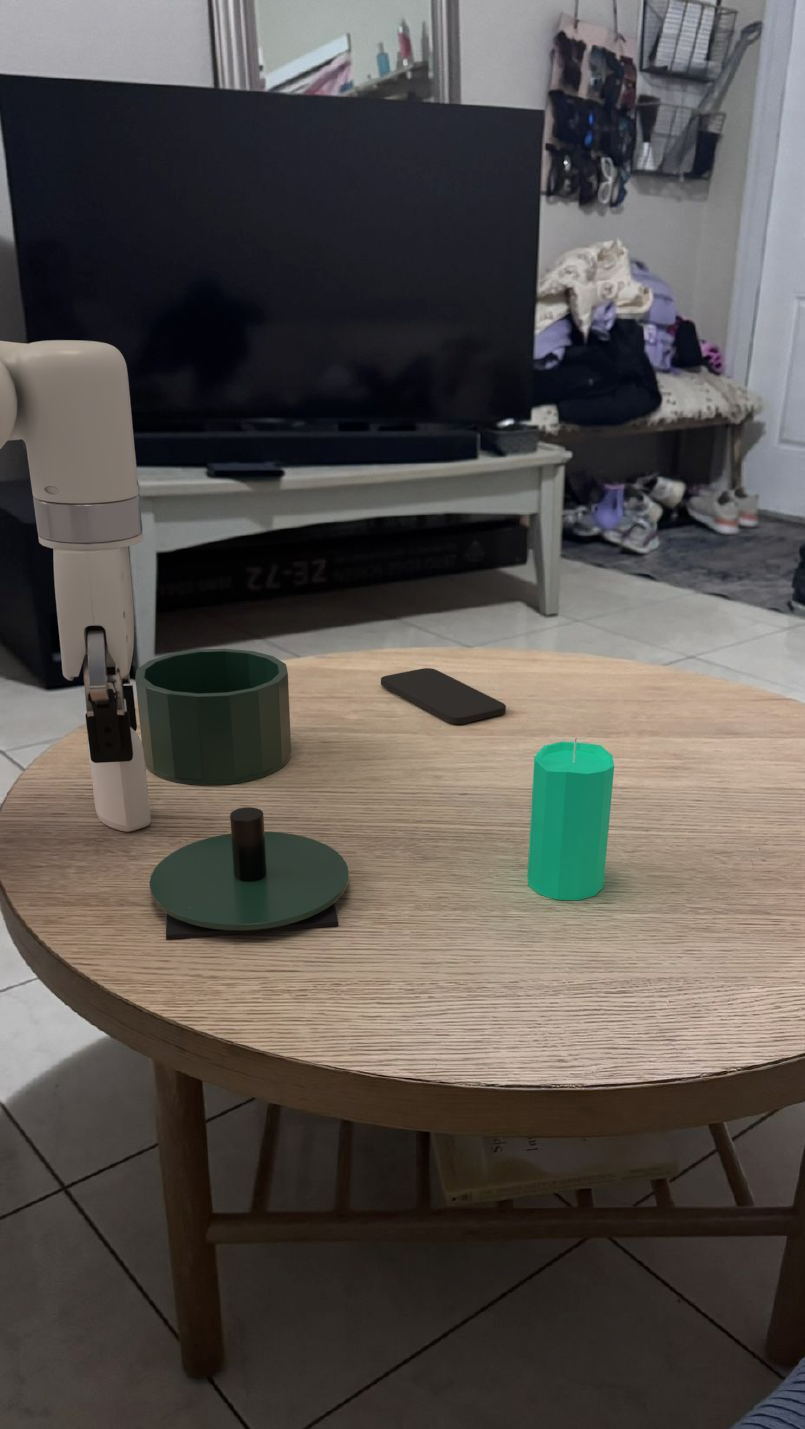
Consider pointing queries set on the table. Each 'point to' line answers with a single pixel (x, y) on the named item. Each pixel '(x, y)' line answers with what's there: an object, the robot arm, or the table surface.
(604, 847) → the candle
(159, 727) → the tin
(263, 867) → the tin lid
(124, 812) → the eye dropper bottle
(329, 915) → the mat
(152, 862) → the table surface
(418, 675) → the phone
